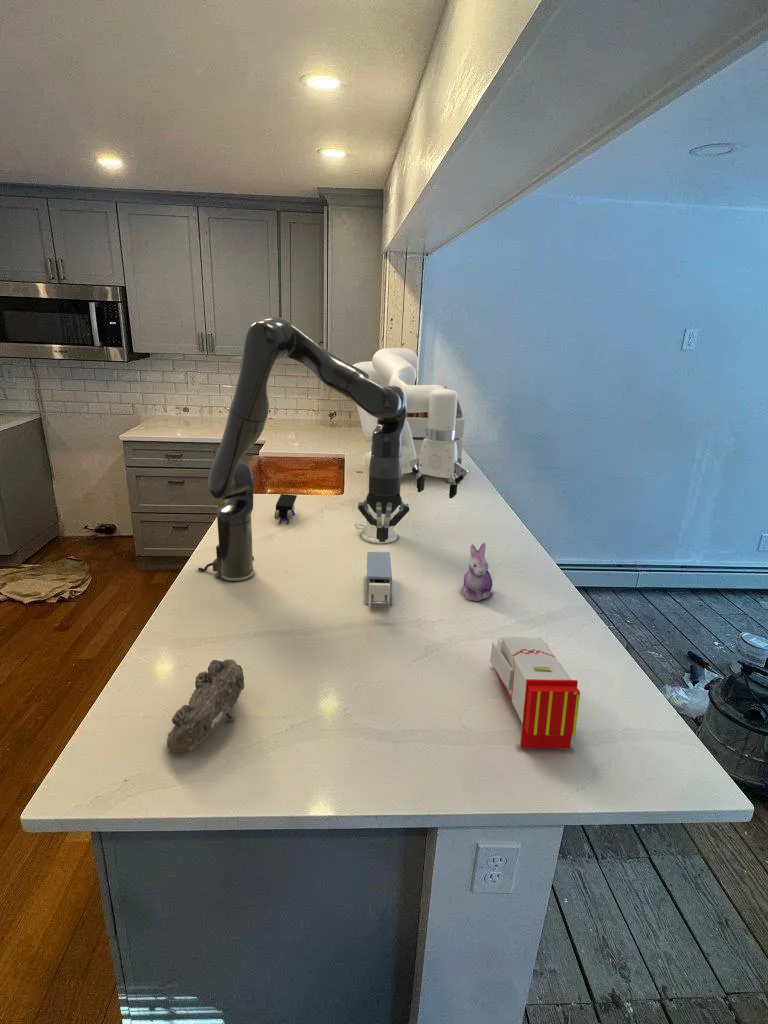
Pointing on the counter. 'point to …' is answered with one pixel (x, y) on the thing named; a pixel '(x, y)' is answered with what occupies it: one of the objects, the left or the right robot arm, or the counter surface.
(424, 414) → the transformer
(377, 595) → the drawer
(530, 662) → the toy
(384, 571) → the blue-grey slab
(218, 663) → the fossil
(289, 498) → the figurine character
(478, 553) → the figurine
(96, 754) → the counter surface
